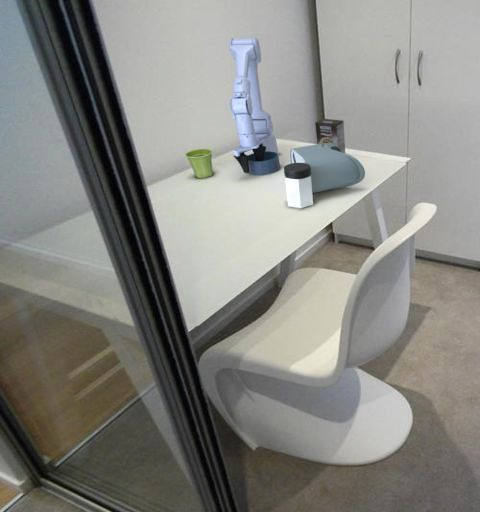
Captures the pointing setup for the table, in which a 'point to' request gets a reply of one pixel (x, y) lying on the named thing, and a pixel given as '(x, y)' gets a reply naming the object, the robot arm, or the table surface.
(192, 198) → the table surface
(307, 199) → the jar
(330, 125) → the coffee box
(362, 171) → the grey-blue rounded tapered piece
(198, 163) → the plant pot
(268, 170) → the tub
